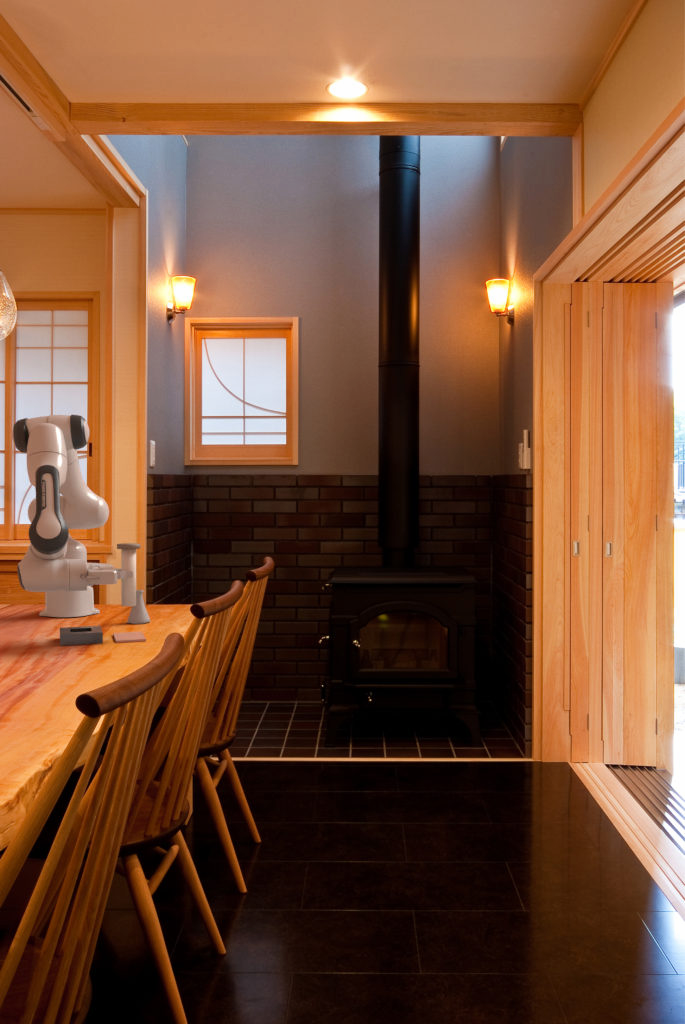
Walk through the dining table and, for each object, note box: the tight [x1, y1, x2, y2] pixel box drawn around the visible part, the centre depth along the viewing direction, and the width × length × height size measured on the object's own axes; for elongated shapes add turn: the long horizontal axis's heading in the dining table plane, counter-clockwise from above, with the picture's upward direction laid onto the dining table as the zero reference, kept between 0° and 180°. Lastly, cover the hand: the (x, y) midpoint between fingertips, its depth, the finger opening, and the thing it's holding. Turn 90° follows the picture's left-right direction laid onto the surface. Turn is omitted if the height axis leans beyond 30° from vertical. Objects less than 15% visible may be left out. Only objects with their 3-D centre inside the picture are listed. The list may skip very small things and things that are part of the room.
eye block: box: [59, 625, 104, 647], centre depth 240 cm, size 11×11×3 cm
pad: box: [112, 631, 147, 644], centre depth 244 cm, size 12×8×1 cm, turn 19°
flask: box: [126, 589, 151, 625], centre depth 270 cm, size 7×7×10 cm
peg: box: [116, 542, 141, 607], centre depth 243 cm, size 6×6×17 cm
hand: (131, 573), depth 243 cm, fingers closed on peg, 4 cm apart
